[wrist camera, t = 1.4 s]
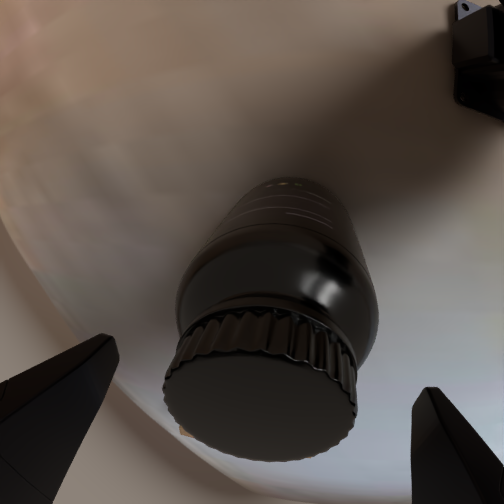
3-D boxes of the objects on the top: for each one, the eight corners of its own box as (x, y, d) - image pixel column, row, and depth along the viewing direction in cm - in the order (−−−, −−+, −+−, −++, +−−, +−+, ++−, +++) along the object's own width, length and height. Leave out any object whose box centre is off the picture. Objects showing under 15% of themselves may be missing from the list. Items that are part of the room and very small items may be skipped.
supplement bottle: (352, 286, 18) (372, 477, 7) (239, 288, 20) (168, 462, 9) (351, 169, 15) (429, 303, 5) (222, 178, 17) (80, 302, 6)
